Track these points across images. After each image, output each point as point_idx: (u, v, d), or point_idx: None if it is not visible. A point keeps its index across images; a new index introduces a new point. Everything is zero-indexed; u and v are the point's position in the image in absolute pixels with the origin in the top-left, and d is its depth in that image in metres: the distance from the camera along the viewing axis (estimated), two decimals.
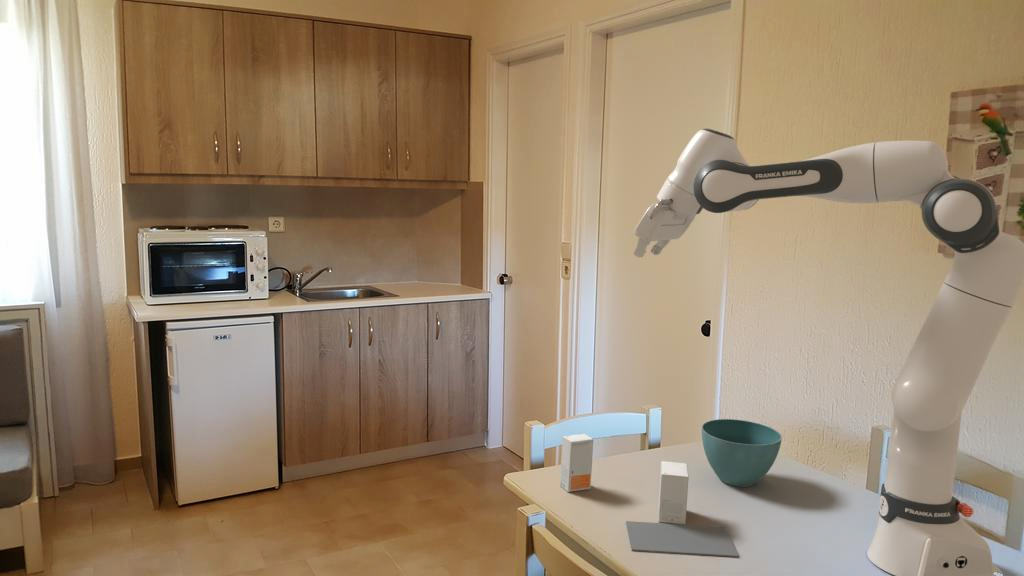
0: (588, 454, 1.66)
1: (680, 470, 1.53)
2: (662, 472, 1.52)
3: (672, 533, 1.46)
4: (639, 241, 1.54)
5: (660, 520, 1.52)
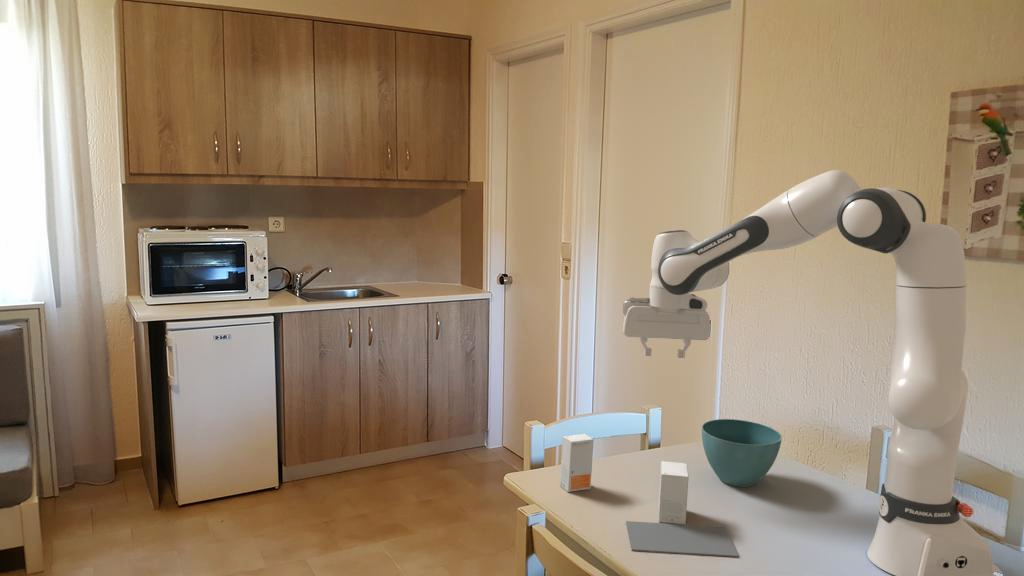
0: (588, 454, 1.66)
1: (680, 470, 1.53)
2: (662, 472, 1.52)
3: (672, 533, 1.46)
4: None
5: (660, 520, 1.52)
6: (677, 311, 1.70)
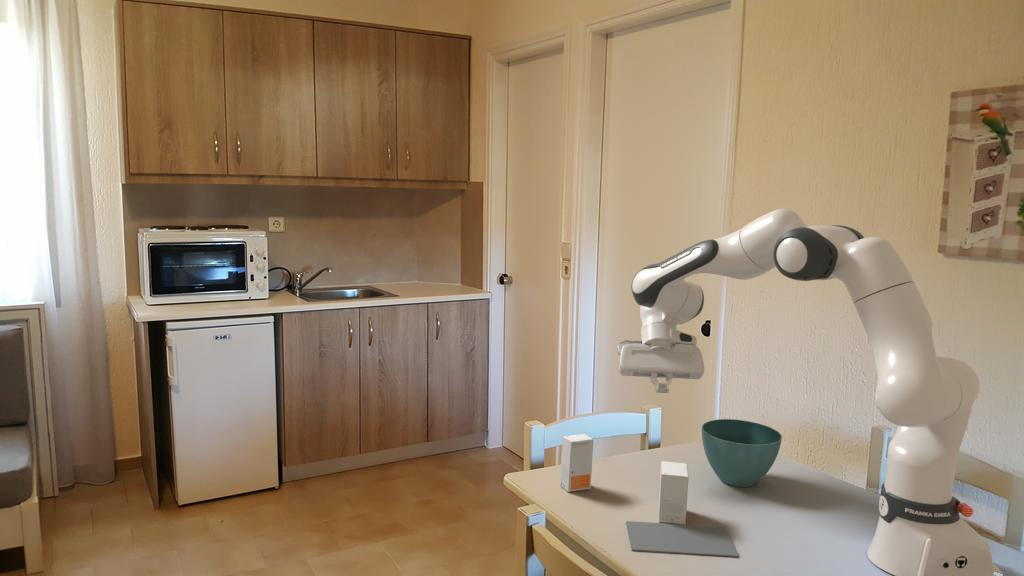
0: (588, 454, 1.66)
1: (680, 470, 1.53)
2: (662, 472, 1.52)
3: (672, 533, 1.46)
4: (651, 380, 1.76)
5: (660, 520, 1.52)
6: (669, 345, 1.78)
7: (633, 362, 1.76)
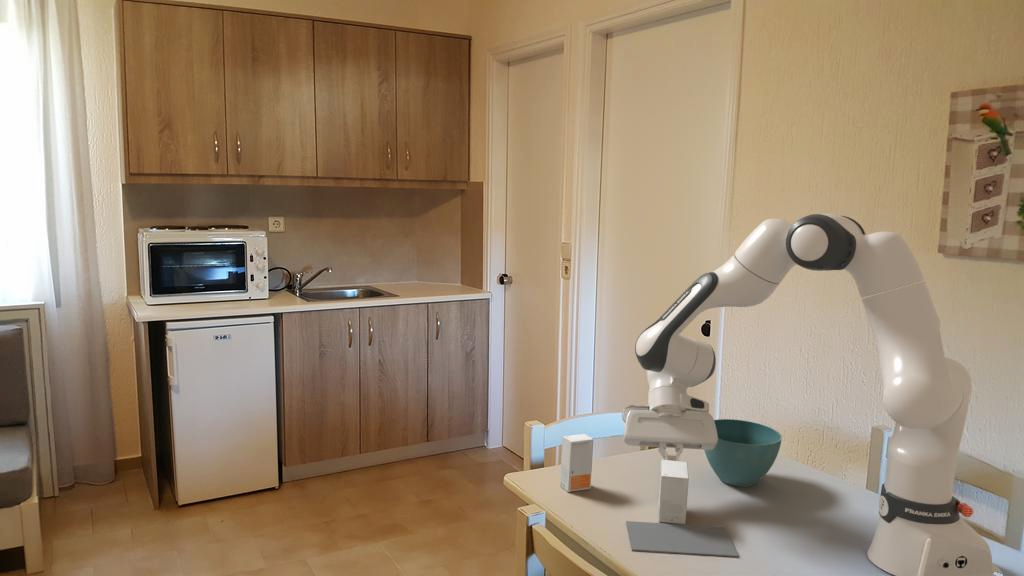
0: (588, 454, 1.66)
1: (680, 471, 1.52)
2: (662, 473, 1.51)
3: (672, 533, 1.46)
4: (659, 451, 1.60)
5: (660, 520, 1.52)
6: (679, 412, 1.63)
7: (639, 431, 1.61)
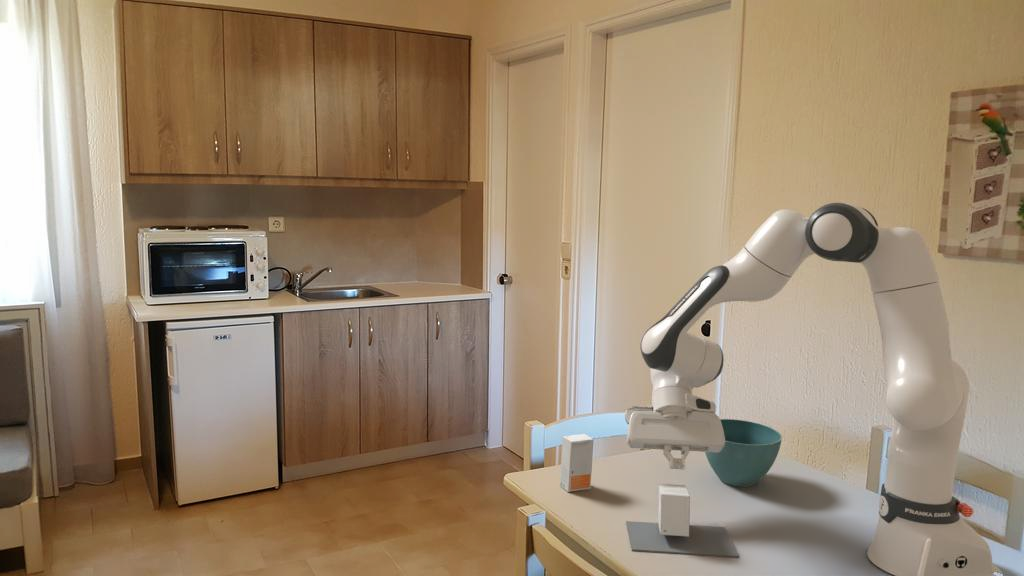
0: (588, 454, 1.66)
1: (681, 521, 1.41)
2: (661, 528, 1.42)
3: None
4: (664, 454, 1.54)
5: None
6: (684, 413, 1.56)
7: (643, 433, 1.54)
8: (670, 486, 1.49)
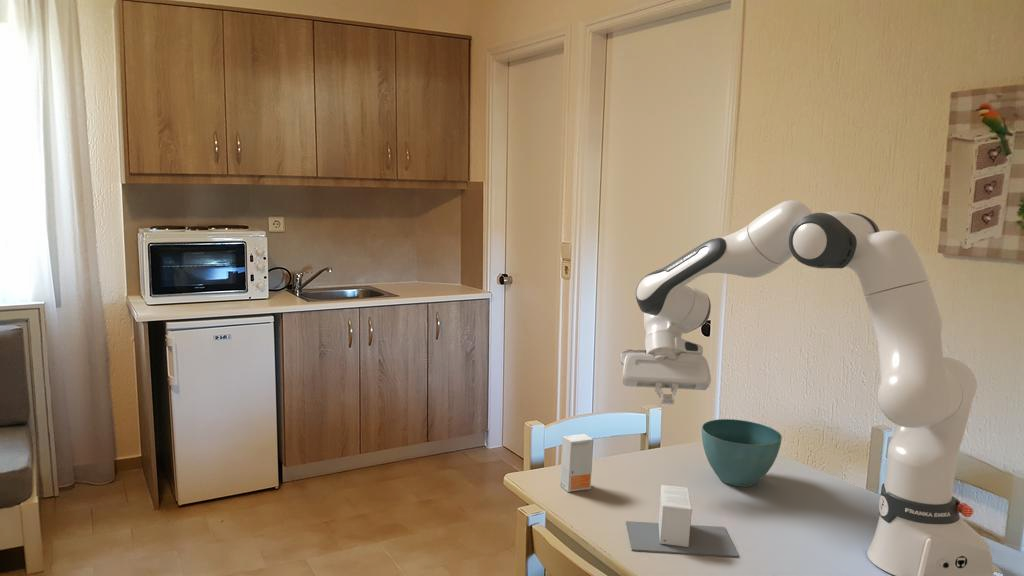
0: (588, 454, 1.66)
1: (681, 532, 1.41)
2: (661, 538, 1.42)
3: None
4: (655, 391, 1.69)
5: None
6: (674, 355, 1.72)
7: (637, 372, 1.70)
8: (672, 490, 1.48)
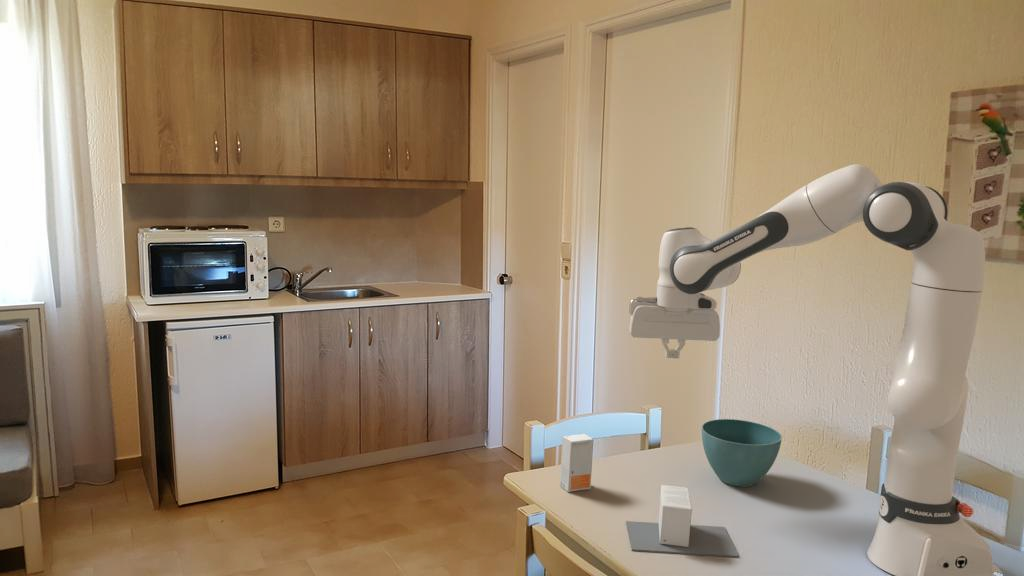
0: (588, 454, 1.66)
1: (681, 532, 1.41)
2: (661, 538, 1.42)
3: None
4: (662, 342, 1.69)
5: None
6: (685, 311, 1.65)
7: (645, 329, 1.67)
8: (672, 490, 1.48)
